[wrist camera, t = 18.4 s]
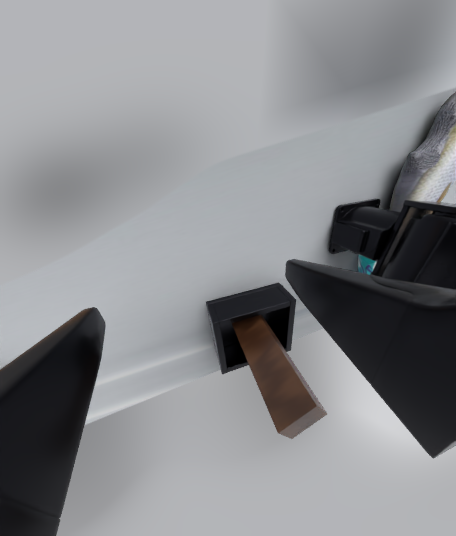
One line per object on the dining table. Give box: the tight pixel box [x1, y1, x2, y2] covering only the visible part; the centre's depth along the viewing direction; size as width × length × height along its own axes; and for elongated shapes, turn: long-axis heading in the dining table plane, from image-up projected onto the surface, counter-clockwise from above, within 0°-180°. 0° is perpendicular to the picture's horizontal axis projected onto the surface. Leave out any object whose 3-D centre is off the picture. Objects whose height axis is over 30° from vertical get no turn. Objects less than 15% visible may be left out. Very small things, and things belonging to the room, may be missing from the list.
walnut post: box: [232, 315, 327, 439], centre depth 21 cm, size 4×3×13 cm
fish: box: [390, 92, 456, 212], centre depth 22 cm, size 23×4×10 cm
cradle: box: [206, 283, 296, 374], centre depth 26 cm, size 11×10×4 cm
